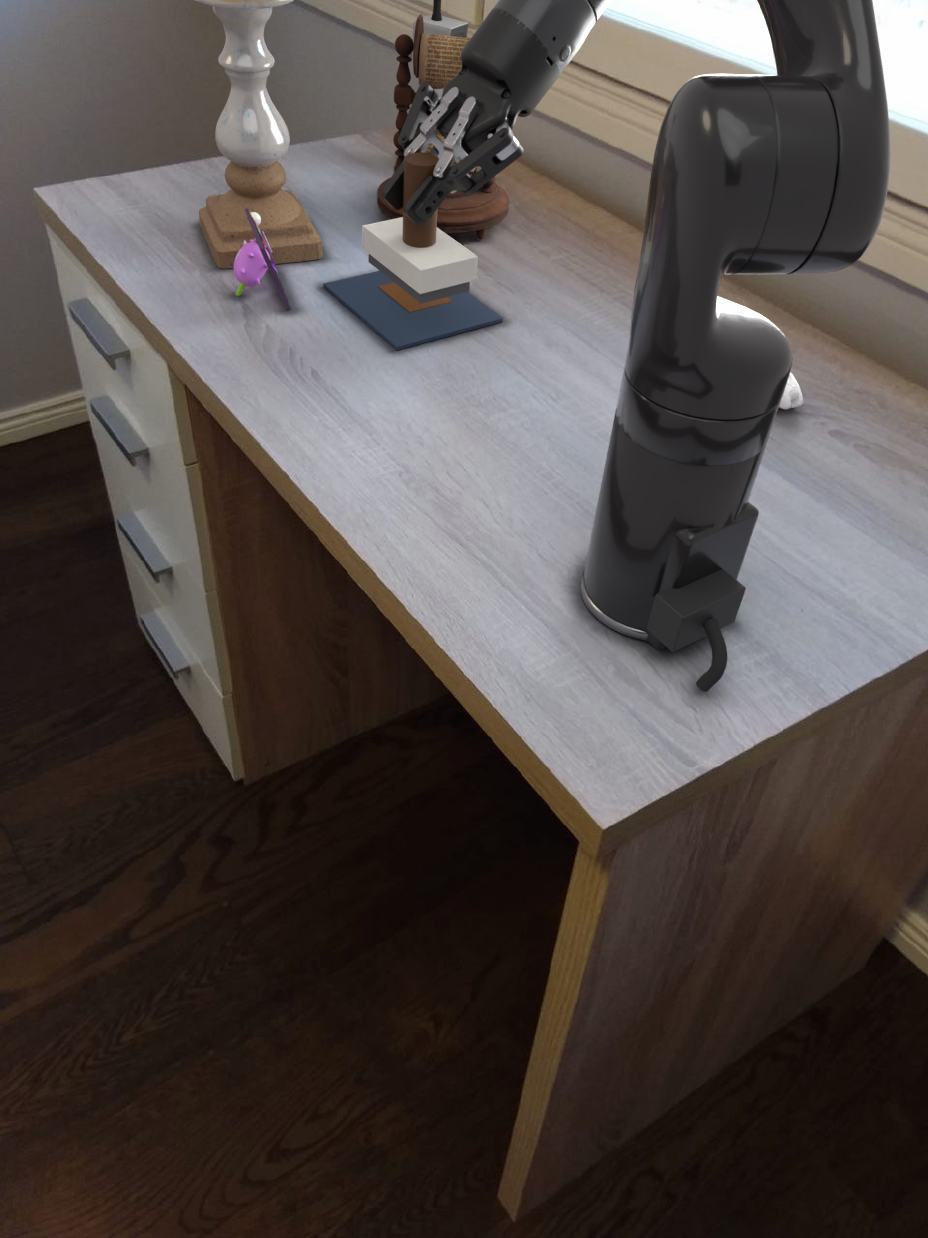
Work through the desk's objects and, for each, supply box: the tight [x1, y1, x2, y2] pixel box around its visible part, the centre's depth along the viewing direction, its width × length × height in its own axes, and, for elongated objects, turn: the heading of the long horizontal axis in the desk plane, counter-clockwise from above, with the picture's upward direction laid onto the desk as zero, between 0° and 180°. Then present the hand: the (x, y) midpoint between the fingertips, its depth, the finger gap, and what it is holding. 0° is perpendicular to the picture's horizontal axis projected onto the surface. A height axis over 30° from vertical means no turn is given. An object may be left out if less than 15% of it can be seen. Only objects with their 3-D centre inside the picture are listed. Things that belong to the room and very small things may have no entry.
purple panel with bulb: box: [233, 208, 292, 311], centre depth 98 cm, size 7×5×9 cm
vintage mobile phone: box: [410, 0, 469, 106], centre depth 115 cm, size 4×5×25 cm
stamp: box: [361, 152, 479, 304], centre depth 90 cm, size 10×6×10 cm, turn 34°
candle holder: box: [193, 0, 324, 269], centre depth 99 cm, size 11×11×24 cm
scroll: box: [376, 14, 510, 241], centre depth 108 cm, size 15×15×20 cm
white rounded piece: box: [778, 371, 804, 410], centre depth 91 cm, size 3×8×3 cm, turn 17°
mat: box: [322, 270, 504, 351], centre depth 100 cm, size 14×12×1 cm
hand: (400, 210), depth 88 cm, fingers closed on stamp, 3 cm apart
